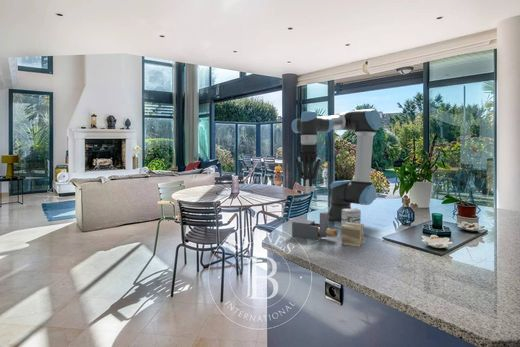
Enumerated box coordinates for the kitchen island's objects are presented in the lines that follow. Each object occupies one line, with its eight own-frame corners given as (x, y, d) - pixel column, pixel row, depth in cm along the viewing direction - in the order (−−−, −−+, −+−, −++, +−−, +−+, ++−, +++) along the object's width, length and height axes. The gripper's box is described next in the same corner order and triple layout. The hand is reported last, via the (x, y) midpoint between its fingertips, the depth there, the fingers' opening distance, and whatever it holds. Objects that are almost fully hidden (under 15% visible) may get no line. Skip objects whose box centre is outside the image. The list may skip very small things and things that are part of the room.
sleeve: (297, 233, 169) (297, 219, 168) (322, 236, 163) (322, 221, 162) (292, 237, 163) (292, 221, 162) (317, 240, 157) (317, 224, 156)
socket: (346, 239, 158) (346, 222, 157) (363, 242, 154) (363, 223, 153) (341, 244, 151) (341, 225, 150) (359, 246, 147) (359, 227, 146)
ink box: (345, 233, 168) (345, 210, 167) (340, 231, 173) (341, 208, 172) (360, 232, 170) (361, 209, 169) (355, 230, 175) (356, 208, 174)
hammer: (302, 232, 166) (302, 209, 165) (337, 236, 158) (338, 212, 157) (298, 234, 163) (298, 210, 161) (335, 238, 154) (335, 214, 153)
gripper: (292, 144, 158) (292, 193, 160) (319, 144, 152) (318, 195, 154) (298, 144, 165) (298, 191, 167) (324, 144, 159) (323, 193, 161)
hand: (308, 193), depth 161 cm, fingers closed
